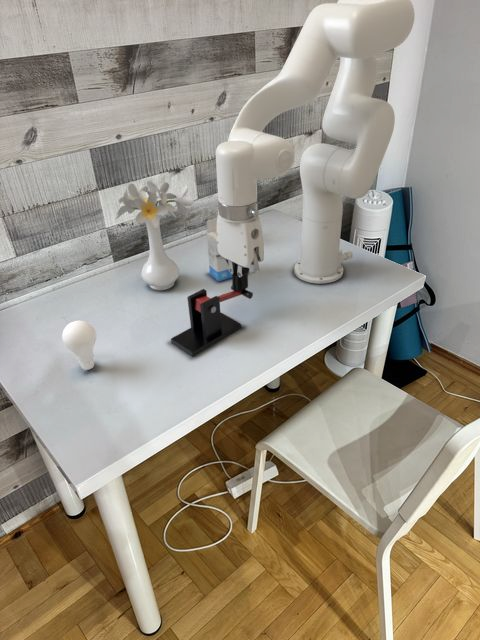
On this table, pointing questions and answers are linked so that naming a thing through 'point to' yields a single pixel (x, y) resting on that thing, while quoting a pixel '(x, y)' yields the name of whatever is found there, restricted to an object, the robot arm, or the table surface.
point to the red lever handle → (223, 297)
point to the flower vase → (155, 228)
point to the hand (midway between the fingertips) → (240, 288)
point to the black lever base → (204, 325)
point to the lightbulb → (80, 342)
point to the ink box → (216, 254)
